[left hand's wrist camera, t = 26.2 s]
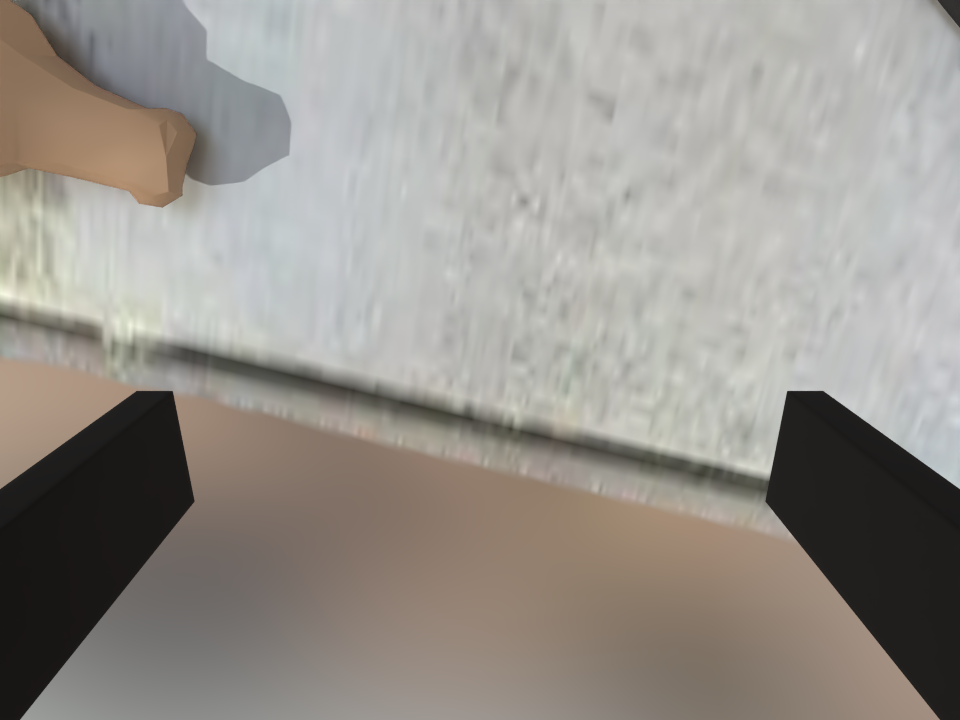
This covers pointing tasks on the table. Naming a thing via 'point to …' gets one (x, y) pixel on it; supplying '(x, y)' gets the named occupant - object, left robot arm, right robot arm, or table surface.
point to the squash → (82, 122)
